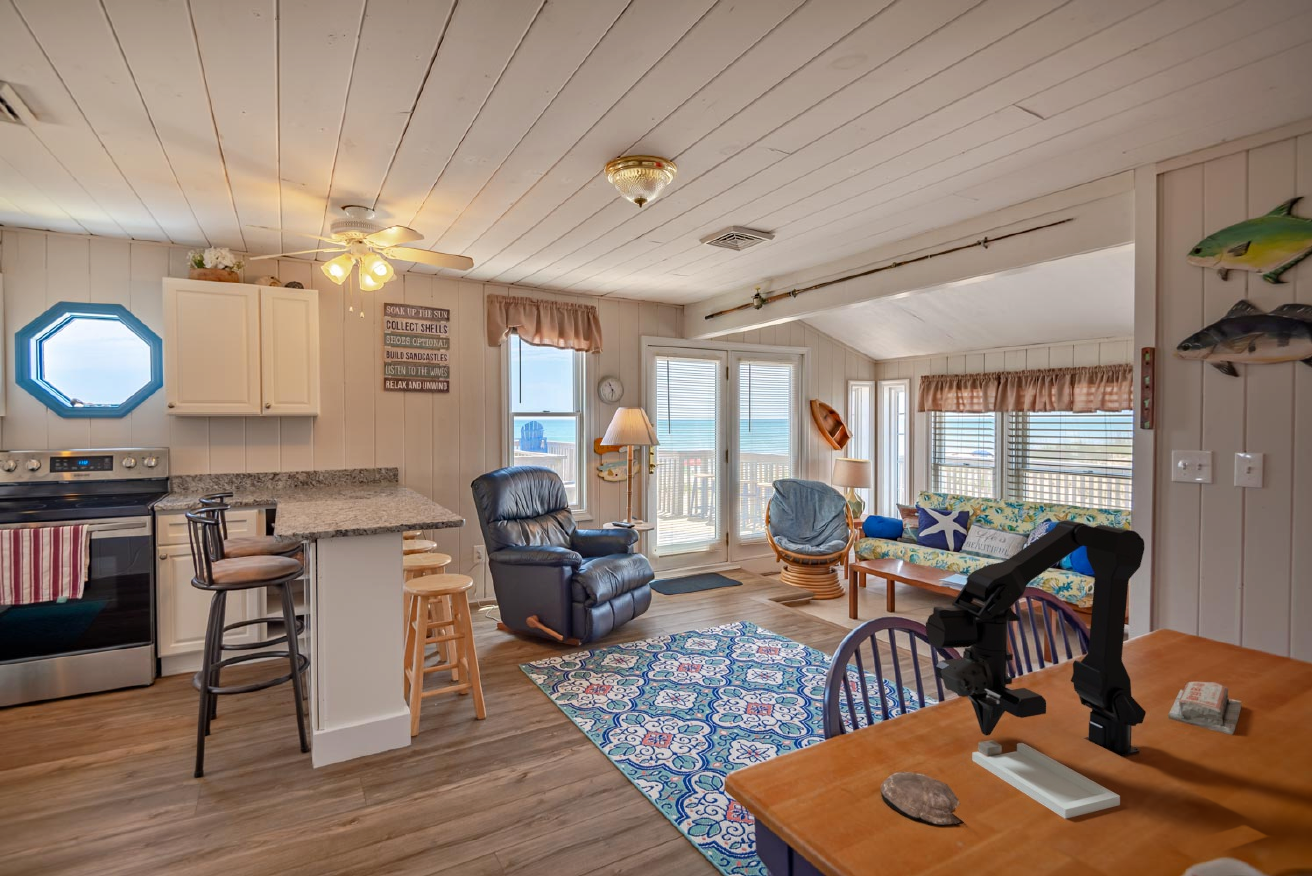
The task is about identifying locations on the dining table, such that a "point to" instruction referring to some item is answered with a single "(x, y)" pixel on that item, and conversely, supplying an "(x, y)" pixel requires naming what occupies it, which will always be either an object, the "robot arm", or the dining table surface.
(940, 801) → the shell
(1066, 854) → the dining table surface
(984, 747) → the cover plate
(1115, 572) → the robot arm
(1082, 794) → the open box
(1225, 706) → the packaged product
